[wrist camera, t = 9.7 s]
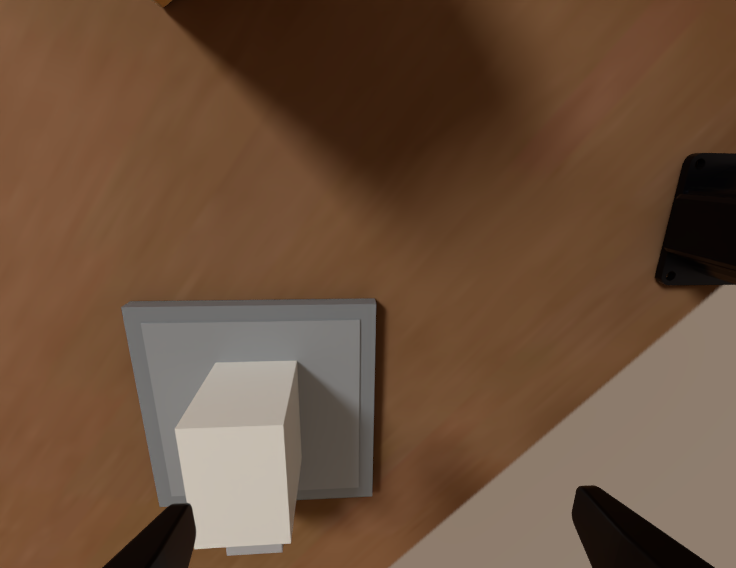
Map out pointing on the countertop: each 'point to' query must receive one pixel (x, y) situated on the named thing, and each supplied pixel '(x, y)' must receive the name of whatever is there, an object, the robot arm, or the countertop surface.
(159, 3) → the small box
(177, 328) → the plate
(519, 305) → the countertop surface
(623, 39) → the countertop surface
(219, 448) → the connector
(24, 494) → the countertop surface
